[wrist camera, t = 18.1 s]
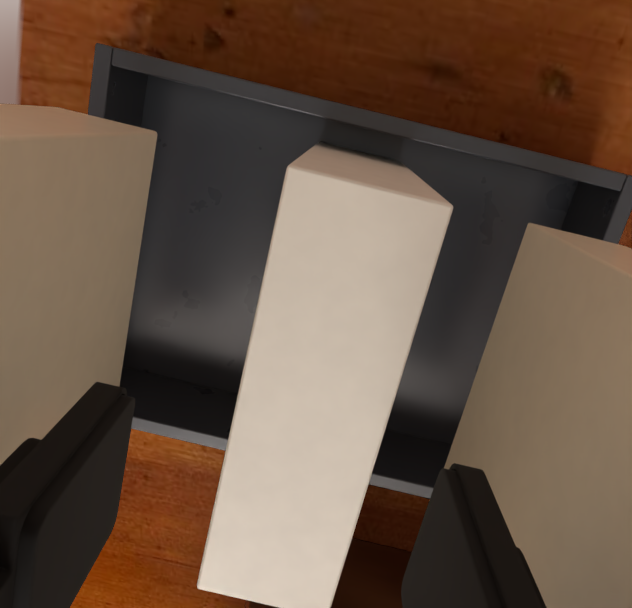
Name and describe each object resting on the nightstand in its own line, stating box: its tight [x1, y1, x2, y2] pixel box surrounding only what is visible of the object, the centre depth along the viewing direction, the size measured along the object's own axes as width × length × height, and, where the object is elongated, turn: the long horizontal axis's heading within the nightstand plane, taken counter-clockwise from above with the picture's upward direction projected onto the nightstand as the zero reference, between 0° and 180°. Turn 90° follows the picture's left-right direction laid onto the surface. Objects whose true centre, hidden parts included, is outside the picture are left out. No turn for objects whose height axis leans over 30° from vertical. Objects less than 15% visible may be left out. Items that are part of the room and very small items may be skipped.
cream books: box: [0, 103, 632, 608], centre depth 13 cm, size 17×11×12 cm, turn 77°
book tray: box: [88, 43, 632, 499], centre depth 25 cm, size 19×14×5 cm
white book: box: [197, 142, 453, 608], centre depth 20 cm, size 4×11×13 cm, turn 167°
